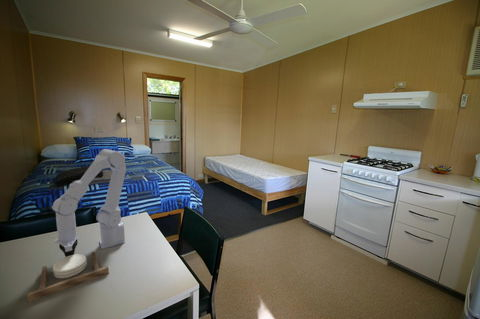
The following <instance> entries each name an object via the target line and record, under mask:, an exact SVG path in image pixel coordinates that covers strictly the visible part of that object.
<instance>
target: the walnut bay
mask: <svg viewBox="0 0 480 319" xmlns="http://www.w3.org/2000/svg"><path fill="white" fill-rule="evenodd" d="M91 260H92V264H93V269H94V270H92V271H89V272H86V273H82V274H80V275H78V276H77V275H76V276H73V277H70V278H67V279H65V280H62V281H60V282H57V283H54V284H52V285H51V284H50V285H48V286H47V283H48V282H47V278H48V266H47V265H45V266H42V267H41V276H40V285H39V289H37V290H34V291H30V292H28V293H27V296H26V297H27V302H29V303H31V302H34V301H36V300H40V299H42V298H45V297H47V296H51V295H53V294H56V293H58V292H62V291H63V290H67V289H70V288H72V287H75V286H78V285H81V284H83V283H86V282H89V281H93V280H95V279H98V278H100V277H103V276H105V275H109V274H110V271H109V266H108V265H107V266H104V267H99V262H98V259H97V253H96V251H91ZM33 300H34V301H33Z"/></svg>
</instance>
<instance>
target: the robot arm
mask: <svg viewBox="0 0 480 319" xmlns="http://www.w3.org/2000/svg"><path fill="white" fill-rule="evenodd" d="M108 168H109V169H110V170H111V171H112V172H111V176H110V180H109V184H108V189H107V193H106V198H105V201H104V204H103V205H102V206H100V209H99V212H97V214H96V221H97V222H98V223H99V231H100V232H99V233H100V239H99V241H98V242H99V244H100V248H101V249H102V250H105V249H108V248H111V247H114V246H117V245H122V244H125V243H126V240H125V239H126V238H125V237H126V236H125V225H124V222H123V221H121V220H122V217H121V209H120V206H119V204H120V198H121V195H122V189H123V186H124V180H125V177H126V172H127V165H126V156H125V155H124V154H123V152H121V151H119V150H118V151H117V150H111V149H109V148H104V149H101V150H100V151H99V153H98V154H97V155H95V158H94V160H93V161H92V163H91V164H90V165H89V167H88V168H87V170H86V171H85V172H84V174H83V175H82V177H81V178H80V179H79V180H75V181H73V183H70V184H69V185H68V188H67V189H66V191H65V192H64V194H61V195H60V197H59V198H57V199H55V200H54V202H53V204H52V206H51V209H52V210H53V211H54V212H55V220H56V230H57V237H58V238H55V239H54V244H59V245H58V247H59V249H60V250H61V252H63V254H64V258H65V257H67V256H70V255H75V251H76V248H77V246H78V239H79V238H78V233H77V223H76V214H75V212H76V210H77V209H78V204H79V202H80V201H81V199H82V198H83V197H84V195H86V193H87V191H89V185H90V183H91V182H92V181H93V180H94V179H95V178H96V177H97V176H98V174H100V172H101V171H102V170H104V169H108Z"/></svg>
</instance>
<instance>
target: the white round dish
mask: <svg viewBox="0 0 480 319" xmlns="http://www.w3.org/2000/svg"><path fill="white" fill-rule="evenodd" d="M87 262H88V261H87V257H86V256H85V255H84V254H81V253H80V254H79V253H77V254H75V253H74V255H70V256H67V257H65V256H64V257H63V258H61V259H59V260H58V261H57V262H55V263H54V264H53V266H52V267H53V268H52V270H53V276H54V277H55V278H56V279H70V278H73V277H76V276H77V275H78V274H80V273H81V272H83V271H84V270H85V269H86V267H87V265H88V263H87Z"/></svg>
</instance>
